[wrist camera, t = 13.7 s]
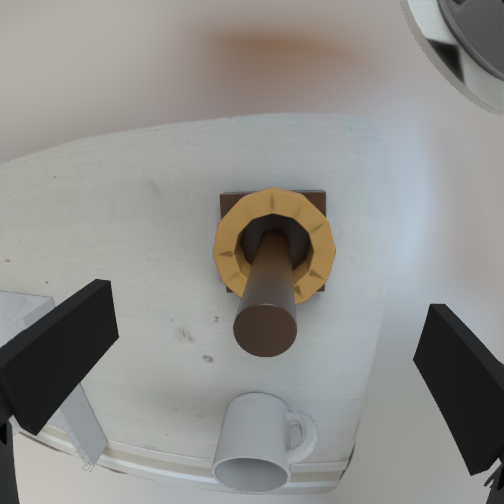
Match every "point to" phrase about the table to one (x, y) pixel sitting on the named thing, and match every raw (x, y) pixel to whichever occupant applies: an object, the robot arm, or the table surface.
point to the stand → (270, 277)
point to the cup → (260, 443)
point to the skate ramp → (76, 404)
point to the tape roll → (285, 204)
